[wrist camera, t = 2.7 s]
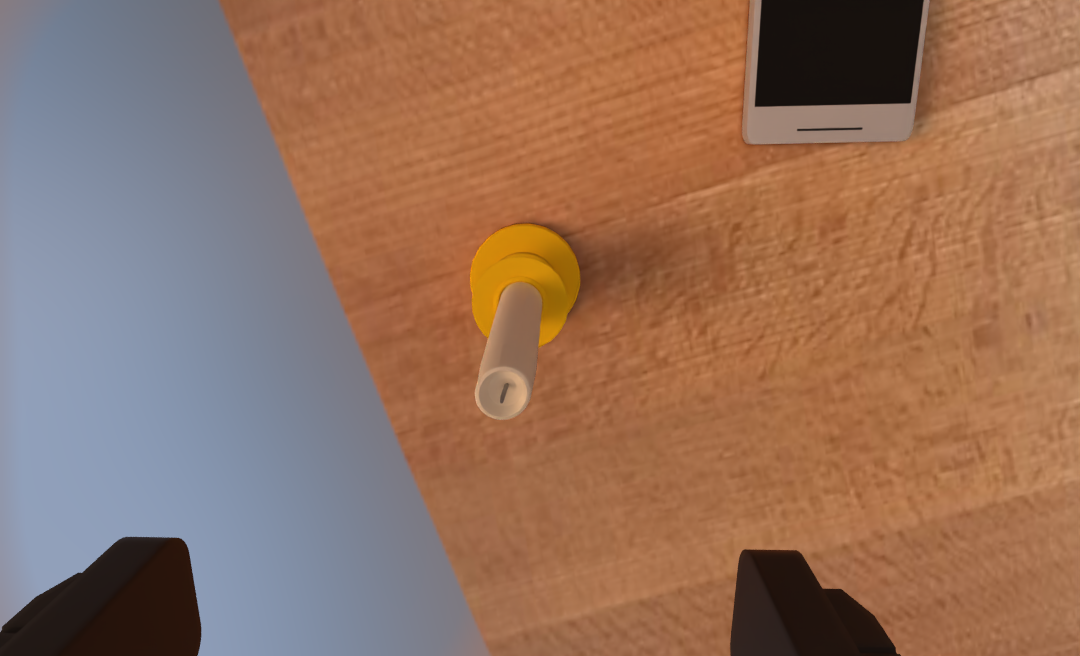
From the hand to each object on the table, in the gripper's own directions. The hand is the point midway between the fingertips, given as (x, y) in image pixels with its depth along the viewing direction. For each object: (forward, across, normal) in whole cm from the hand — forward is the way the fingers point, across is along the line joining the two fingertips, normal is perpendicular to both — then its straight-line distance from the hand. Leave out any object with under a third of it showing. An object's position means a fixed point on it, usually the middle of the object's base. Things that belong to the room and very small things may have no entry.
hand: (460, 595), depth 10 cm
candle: (+23, 0, 0) cm, 23 cm away
